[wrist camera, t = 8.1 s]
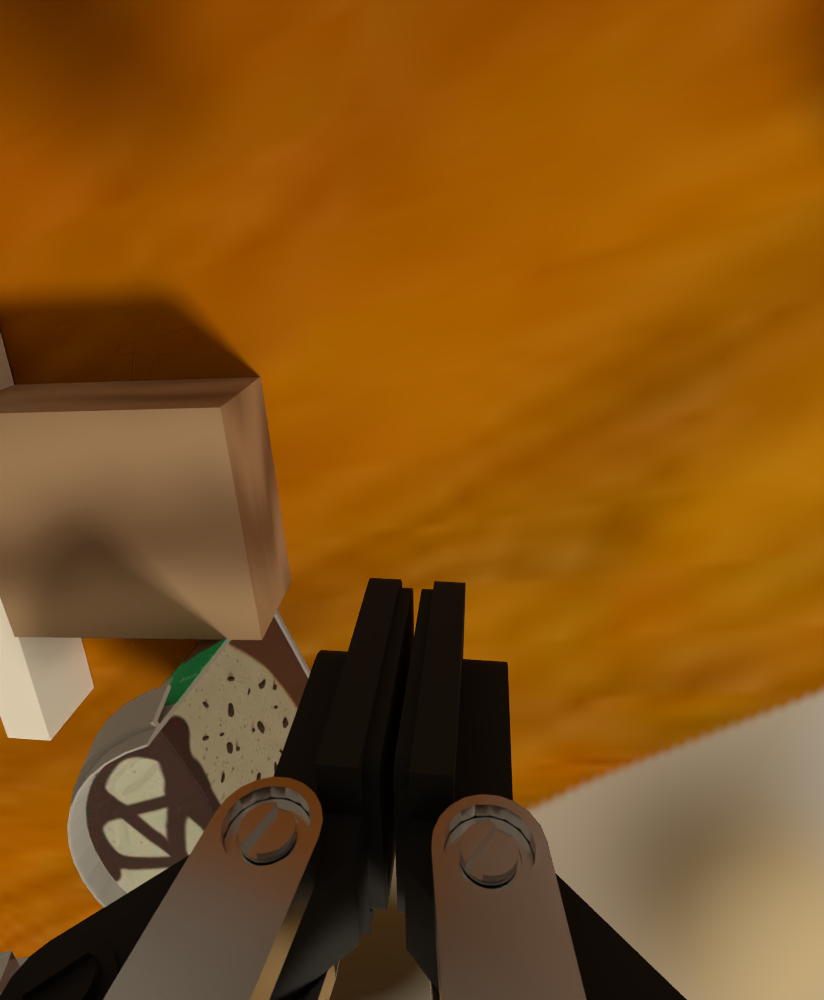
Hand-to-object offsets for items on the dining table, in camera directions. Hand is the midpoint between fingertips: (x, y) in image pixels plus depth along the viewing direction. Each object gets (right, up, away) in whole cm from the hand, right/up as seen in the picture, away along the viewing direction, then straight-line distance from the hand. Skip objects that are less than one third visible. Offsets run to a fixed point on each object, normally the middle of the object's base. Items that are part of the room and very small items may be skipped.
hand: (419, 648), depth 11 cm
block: (-11, +3, +16) cm, 19 cm away
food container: (-8, -6, +19) cm, 22 cm away
